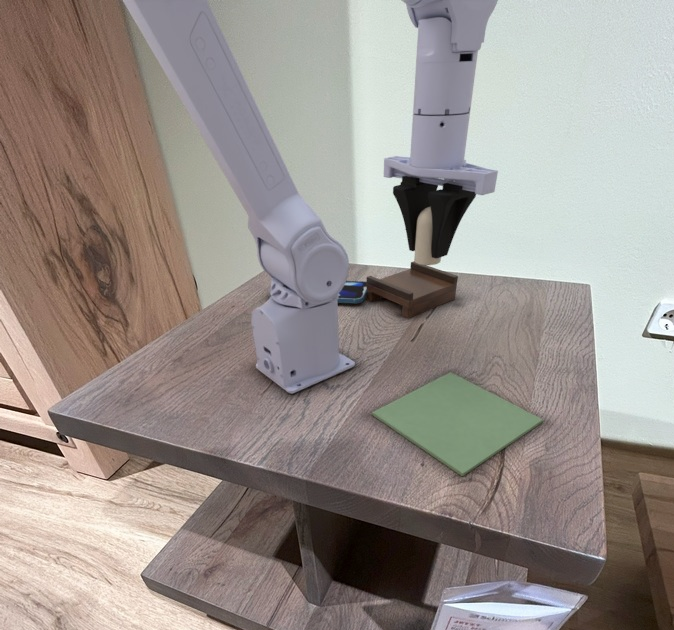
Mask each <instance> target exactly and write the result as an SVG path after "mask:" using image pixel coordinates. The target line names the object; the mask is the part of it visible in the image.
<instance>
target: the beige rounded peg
mask: <svg viewBox="0 0 674 630" xmlns="http://www.w3.org/2000/svg"><path fill="white" fill-rule="evenodd" d="M431 243H432V213H431V207H427V208H425V209H424V210H423V211H422V212H421V213H420V214H419V216H418V219H417V230H416V243H415V251H414V258H413V261H415V262H416V263H417V264H421V265H427V266H435V265H438V264H440V263H441V261H442V257H440V258H437V259H436V258H432V254H431Z"/></svg>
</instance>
